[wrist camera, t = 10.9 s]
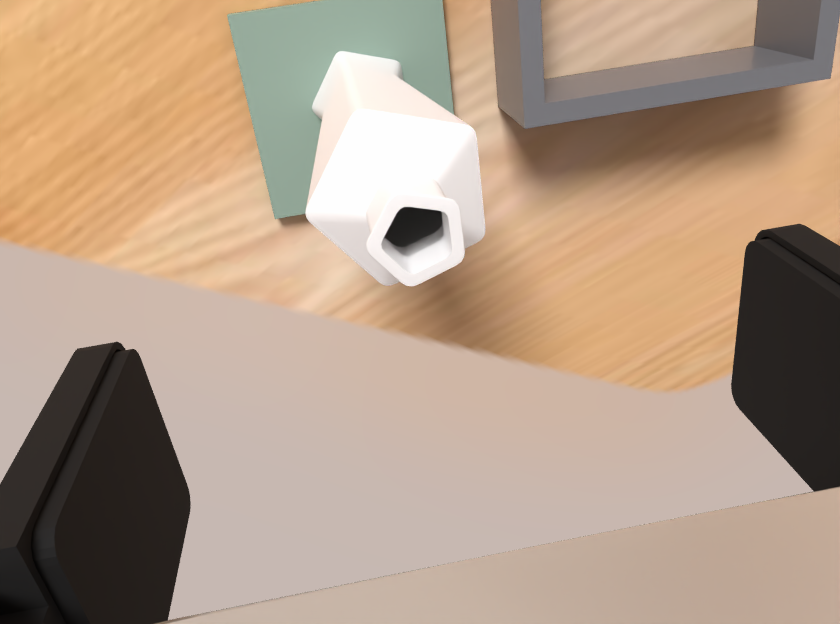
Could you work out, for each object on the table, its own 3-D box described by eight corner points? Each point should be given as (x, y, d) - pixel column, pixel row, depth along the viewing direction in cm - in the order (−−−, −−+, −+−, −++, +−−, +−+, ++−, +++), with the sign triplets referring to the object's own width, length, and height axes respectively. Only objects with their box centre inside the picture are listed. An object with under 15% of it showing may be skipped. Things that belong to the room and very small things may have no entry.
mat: (438, -17, 27) (440, -17, 27) (458, 183, 31) (461, 187, 31) (228, 14, 27) (227, 15, 26) (275, 214, 31) (274, 218, 30)
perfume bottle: (389, 176, 30) (460, 362, 17) (292, 129, 29) (286, 293, 15) (442, 74, 28) (567, 192, 15) (342, 19, 27) (384, 97, 14)
